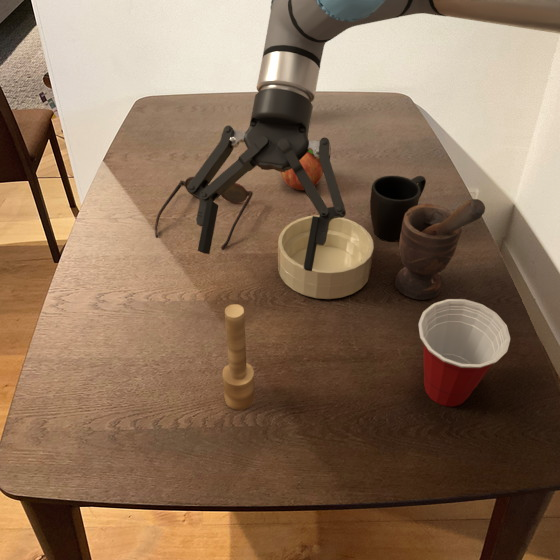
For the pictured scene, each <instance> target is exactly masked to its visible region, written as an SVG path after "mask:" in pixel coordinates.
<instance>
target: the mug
mask: <svg viewBox="0 0 560 560" xmlns="http://www.w3.org/2000/svg"><path fill="white" fill-rule="evenodd" d="M426 184H427V179H426V177H424V175H417V176H415V177H413V178H412V179H410V178H408V177H406V176H400V175H384V176H381V177H378V178H377V179H375V180H374V181H373V182H372V185H371V191H370V200H369V209H370V220H371V225H372V230H373V234H374V236H375V237H376V238H377V239H379V240H381V241H384V242H390V243H394V242H398V241H400V235H401V230H402V224H403V219H404V216H405V213H406V212H407V211H408V210H409V209H410V208H412V207H414V206H417V205H419V201H420V198H421V196H422V194H423V192H424V190H425V187H426Z"/></svg>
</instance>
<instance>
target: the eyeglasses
mask: <svg viewBox="0 0 560 560" xmlns="http://www.w3.org/2000/svg"><path fill="white" fill-rule="evenodd" d="M194 177H195V176H189V177H187V178H186V179H185V180H180V181H179V183H178V184H177V186H176V187H175V188H174V190H172V192H171V193H170V195H169V196H168V198H167V200H166V201H164V203H163V205H162V206H161V208H160V210H159V211H158V213H157V216H156V219H155V224H154V233H155V238H158V237H159V234H158V226H159V222H160V218H161V215H162V213H163V212H164V210H165V209H166V207H167V206H168V205H169V203H170V202H171V201H172V199H173V198H174V197H175V196H176V194H177V193H178V191H179V190H180V189H181V187H182V186H183V187H185V189H186V191H187V192H188V193H189V194H190V195H191V196H192V197H194V198H197V199H199V198H198V197H197V196H195V195H193V194H192V193H190V192H189V191H188V189H187V187H188V185H189V183H190V182H191V181H192V179H193V178H194ZM253 192H254V191H252V190H247V189H246V188H245V187H244V186H243V185H242V184H240V183H237V182H235V183H234V184H233V185H232V186H231V187H229V188H228V189H227V190H226V191H225V192H224V193H223V194H221V195H220V197H222V198H223V199H224V200H225V201H226V202H228V203H230V204H242V203H243V202H244V203H243V205H242V207H241V209H240V211H239V213H238V215H237V216H236V218H235V220H234V222H233V224H232V226H231V228H230V231H229V233H228V235H227V236H228V237H227V238H226V240H225V242H224V243H223V244H222V245H221V246H220V248H221V250H224V249H225V248H226V247H227V246H228V244H230V240H231V238H232V236H233V233H234V230H235V228H236V226H237V224H238V222H239V221H240V218H241V217H242V215H243V213H244V211H245V210H246V208H247V206H248V204H249V202H250V201H251V199H252V197H253Z"/></svg>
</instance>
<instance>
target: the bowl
mask: <svg viewBox="0 0 560 560" xmlns="http://www.w3.org/2000/svg"><path fill="white" fill-rule="evenodd" d="M313 216H316V217H319V214H316V215H308V216H303V217H300V218H298V219H296V220H294V221H291V222H290V223H288V225H286V226H285V227H284V228H283V229H282V231H281V232H280V234H279V236H278V242H277V270H278V274H279V277H280V279H282V281H283V283H284V284H285V285H286V286H287V287H289V288H290V289H291V290H293V291H294V292H296V293H299V294H300V295H303V296H306V297H310V298H314V299H323V300H324V299H325V300H331V299H341V298H344V297H347V296H350V295H353V294H355V293H357V292H359V290H361V289H362V288H363V287H364V286H365V285H366V284H367V283H368V280H369V279H370V276H371V271H372V270H371V269H372V264H373V263H372V262H373V256H374V250H375V249H374V247H375V245H374V240H373V237H372V235H371V234H370V232H369V231H367V229H366V228H365V227H364V226H362V225H361V224H360V223H357V222H355V221H354V220H351V219H348V218H345V217H343V218H334V219H332V220H331V221H330V222H329V227H328V233H327V238H326V243H325V244H324V246H323V245H317V246H316V251H315V257H314V263H313V268H312V271H307V270H305V269H304V262H305V257H306V251H307V246H308V240H309V234H310V229H311V223H312V217H313Z"/></svg>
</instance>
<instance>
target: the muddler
mask: <svg viewBox="0 0 560 560" xmlns="http://www.w3.org/2000/svg"><path fill="white" fill-rule="evenodd" d="M224 318H225V331H226V344H227V345H226V347H227V358H228V359H227V360H228V363H227V365H225V366H224V368H223V370H222V385H223V396H224V402H225V404H226V405H227V406H228V407H229V408H230V409H233V410H245V409H248V408H250V407H251V406H252V405H253V403H254V402H255V400H256V399H255V398H256V396H255V395H256V394H255V369H254V367H253V366H252V365H251V364H250V363H248V362H247V346H246V345H247V343H246V323H245V322H246V321H245V309H244V307H243V306H242V305H240V304H237V303H233V304H229V305H227V306H226V308H225V309H224Z"/></svg>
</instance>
